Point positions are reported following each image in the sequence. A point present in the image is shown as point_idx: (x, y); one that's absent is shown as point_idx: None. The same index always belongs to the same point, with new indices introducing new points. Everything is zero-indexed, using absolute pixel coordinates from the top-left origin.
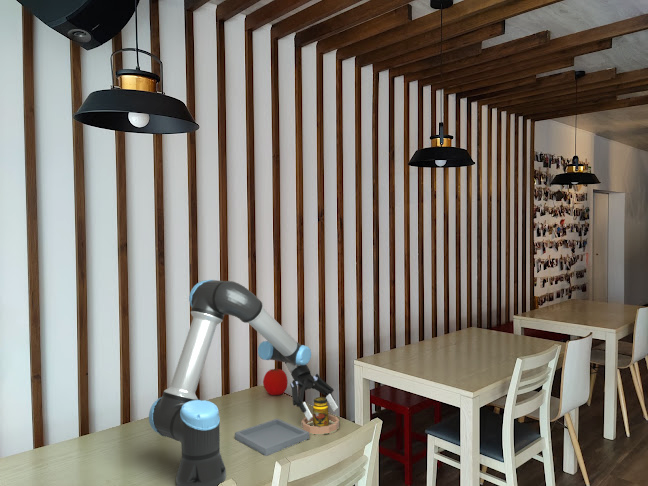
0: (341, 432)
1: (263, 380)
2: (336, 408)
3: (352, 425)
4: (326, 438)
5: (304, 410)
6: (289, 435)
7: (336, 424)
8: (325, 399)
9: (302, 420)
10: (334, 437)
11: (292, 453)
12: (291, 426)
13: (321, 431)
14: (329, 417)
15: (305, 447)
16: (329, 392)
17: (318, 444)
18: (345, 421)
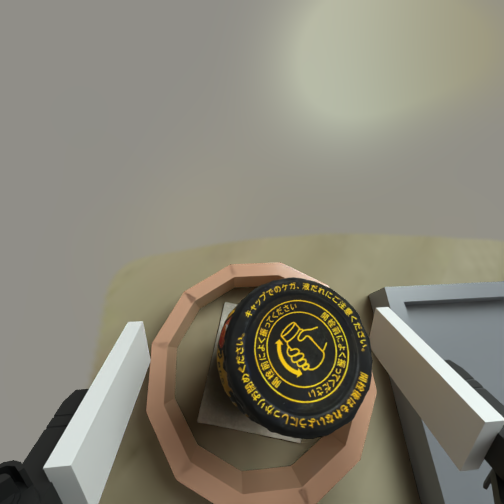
0: (219, 257)
1: None
2: (143, 326)
3: (124, 281)
4: (306, 254)
5: (450, 362)
6: None
7: (228, 266)
8: (269, 293)
9: (355, 453)
10: (275, 241)
11: (472, 240)
12: None
13: None
14: (167, 396)
15: (413, 247)
16: (21, 502)
17: (360, 235)
18: (101, 345)
